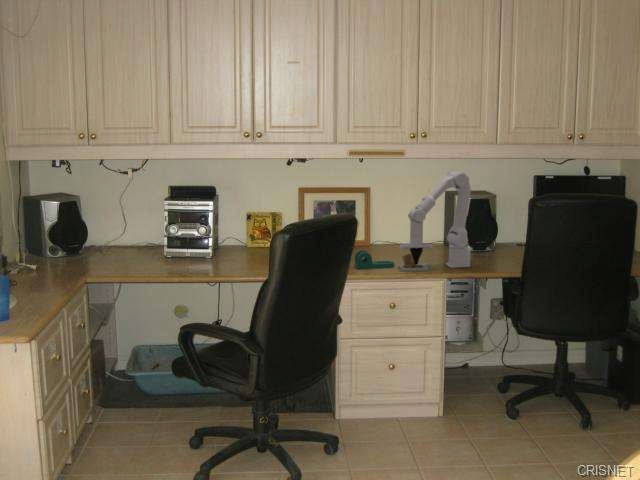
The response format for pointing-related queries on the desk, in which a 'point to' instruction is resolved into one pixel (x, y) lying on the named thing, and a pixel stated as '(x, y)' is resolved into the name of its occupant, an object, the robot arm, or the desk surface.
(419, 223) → the robot arm
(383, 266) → the bracket
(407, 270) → the slot board
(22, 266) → the desk surface
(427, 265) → the green pad
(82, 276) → the desk surface
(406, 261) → the walnut block
